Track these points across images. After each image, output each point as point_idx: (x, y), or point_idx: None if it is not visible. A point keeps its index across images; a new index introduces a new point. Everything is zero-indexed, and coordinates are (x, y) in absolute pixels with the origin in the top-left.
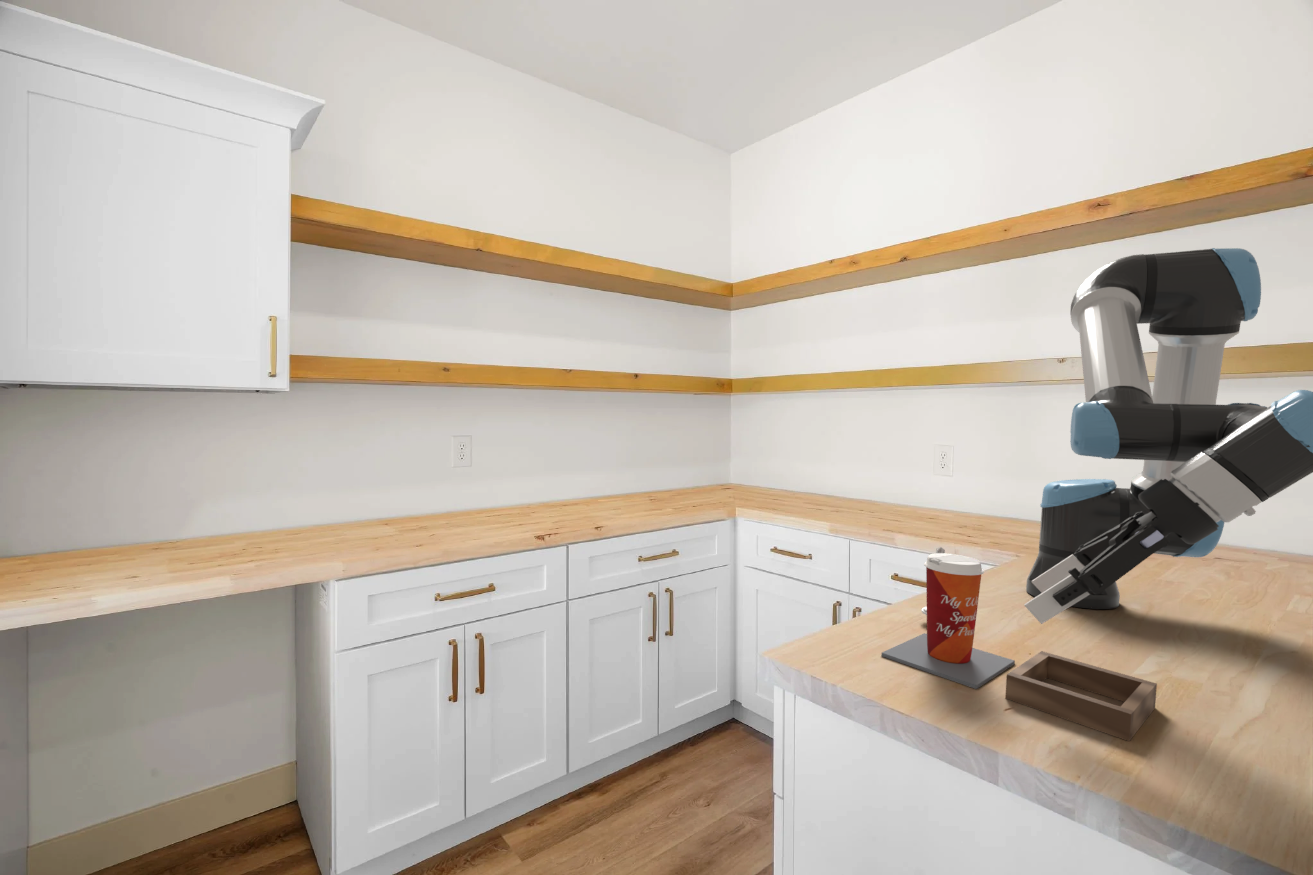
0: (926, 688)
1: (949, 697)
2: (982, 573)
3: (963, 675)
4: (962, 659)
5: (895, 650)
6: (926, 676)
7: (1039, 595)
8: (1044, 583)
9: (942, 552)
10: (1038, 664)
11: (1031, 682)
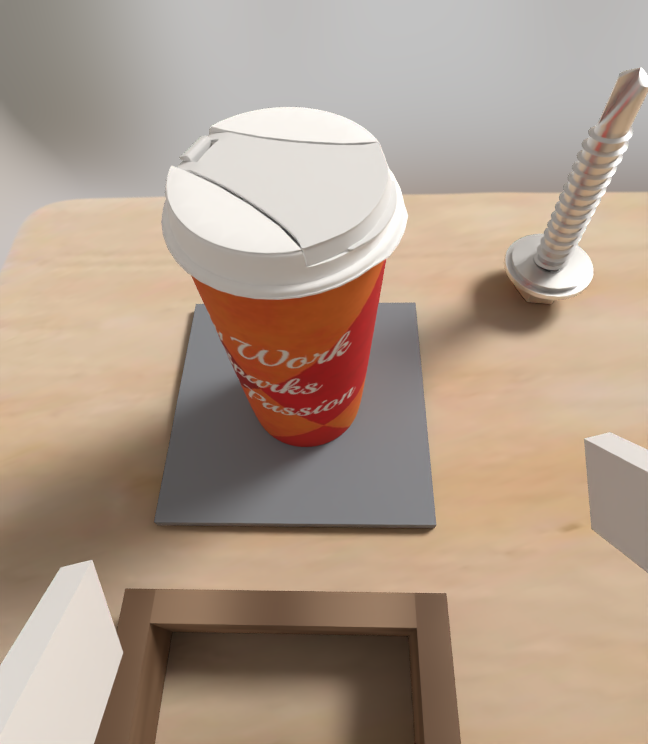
0: (77, 445)
1: (58, 501)
2: (277, 298)
3: (196, 475)
4: (275, 436)
5: None
6: (152, 416)
7: (29, 626)
8: (615, 493)
9: (627, 94)
10: (313, 626)
11: None
